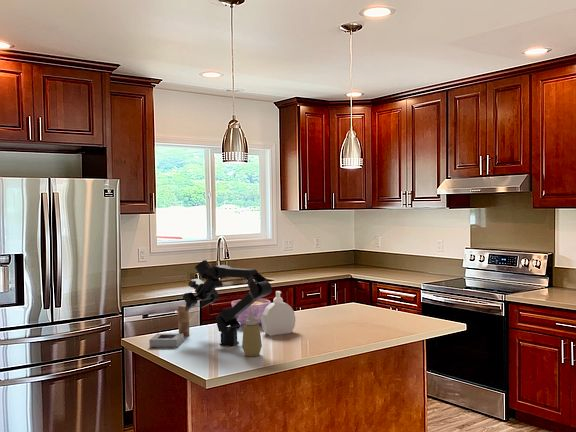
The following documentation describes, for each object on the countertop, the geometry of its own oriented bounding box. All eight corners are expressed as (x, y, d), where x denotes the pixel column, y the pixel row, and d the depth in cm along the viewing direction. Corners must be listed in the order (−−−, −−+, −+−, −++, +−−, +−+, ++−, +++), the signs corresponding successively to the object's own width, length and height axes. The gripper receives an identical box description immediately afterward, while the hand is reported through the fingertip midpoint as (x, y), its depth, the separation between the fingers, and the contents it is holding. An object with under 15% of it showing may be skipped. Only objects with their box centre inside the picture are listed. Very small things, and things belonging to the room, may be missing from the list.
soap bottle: (266, 336, 271) (265, 293, 271) (261, 334, 276) (260, 292, 275) (296, 332, 279) (295, 290, 278) (290, 330, 284) (290, 289, 283)
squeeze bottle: (262, 352, 243) (261, 309, 243) (261, 357, 235) (261, 312, 235) (242, 352, 243) (241, 309, 243) (241, 358, 235) (240, 313, 235)
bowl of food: (263, 319, 312) (263, 297, 312) (276, 326, 293) (276, 303, 293) (227, 322, 305) (226, 300, 304) (238, 330, 286) (237, 306, 286)
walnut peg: (191, 334, 279) (190, 305, 278) (185, 337, 274) (184, 307, 274) (182, 333, 281) (181, 304, 280) (176, 336, 276) (175, 306, 276)
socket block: (183, 341, 266) (183, 333, 266) (176, 347, 254) (176, 339, 254) (157, 341, 267) (157, 333, 267) (149, 347, 255) (149, 339, 255)
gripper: (214, 271, 276) (198, 293, 283) (184, 275, 261) (168, 298, 268) (227, 288, 271) (211, 310, 278) (197, 294, 256) (181, 317, 263)
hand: (193, 308), depth 272 cm, fingers open, 9 cm apart
